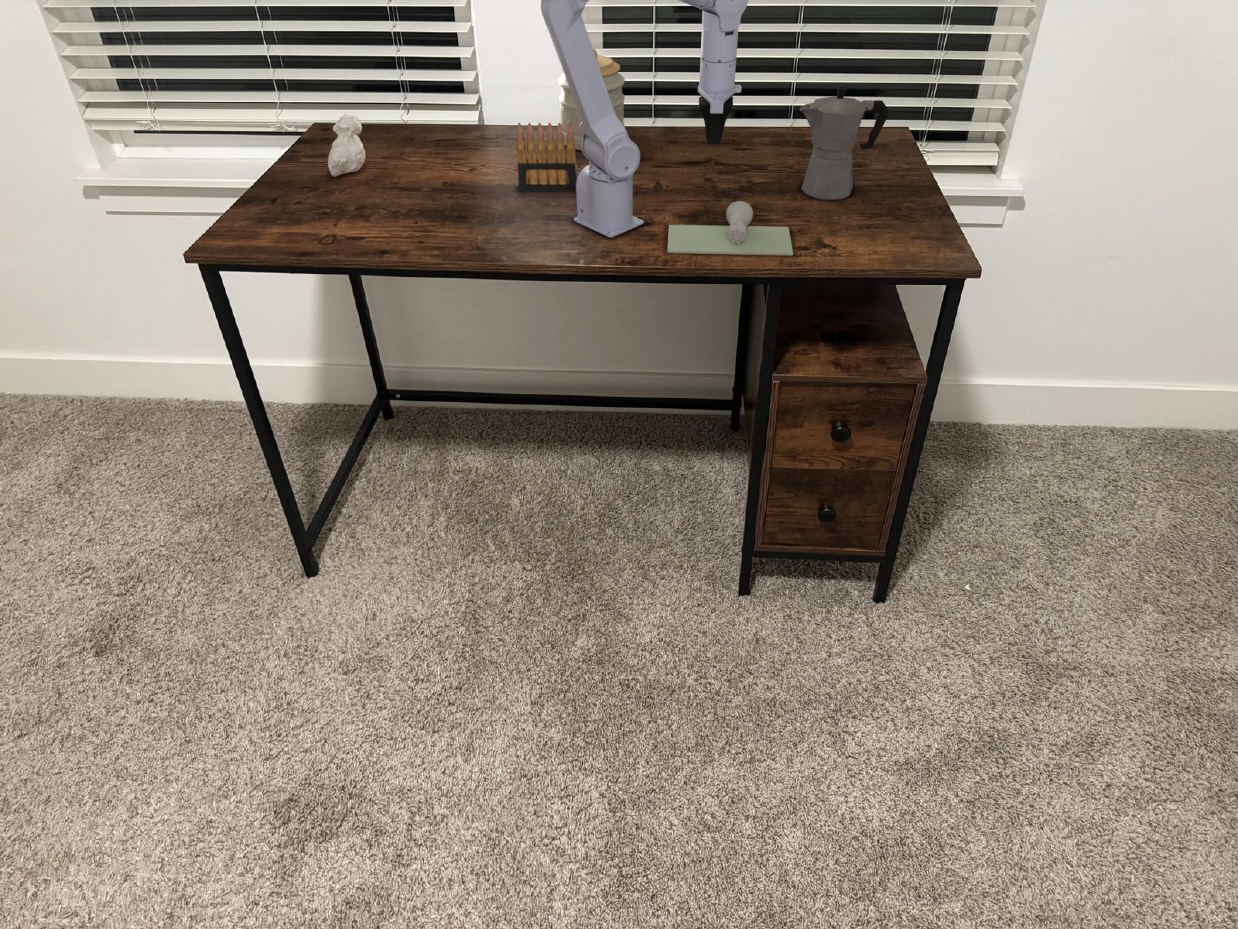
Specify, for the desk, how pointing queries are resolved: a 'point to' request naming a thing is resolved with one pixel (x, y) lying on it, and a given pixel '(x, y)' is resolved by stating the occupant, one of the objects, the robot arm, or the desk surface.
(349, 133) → the white tied sack
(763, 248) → the mat
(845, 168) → the coffeepot
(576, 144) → the jar
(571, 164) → the ammunition clip
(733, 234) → the rook chess piece
